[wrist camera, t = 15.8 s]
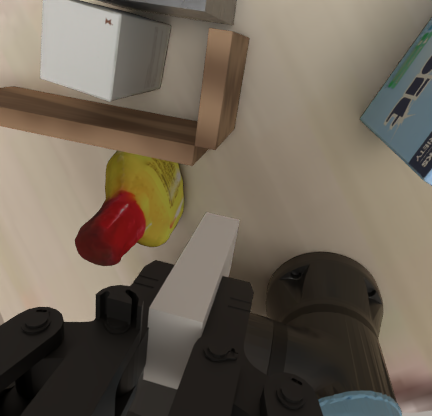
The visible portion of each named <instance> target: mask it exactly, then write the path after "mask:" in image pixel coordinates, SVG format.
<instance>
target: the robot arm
mask: <svg viewBox="0 0 432 416" xmlns="http://www.w3.org/2000/svg"><path fill="white" fill-rule="evenodd" d="M239 222H240V219H235V218H231V217H226V216H222V215H217V214H213V213H208V212H206V213H205V215H204V217H203V218H202V220H201V222H200V223H199V225H198V227H197V228H196V230H195V232H194V234H193V235H192V237H191V239H190V240H189V242H188V244H187V245H186V247H185V249H184V250H183V252H182V254H181V255H180V257H179V259H178V260H177V262H176V264H175V265H173V264H169V263H165V262H161V261H157V260H155V261H153V262H152V263H150V264H148V265H146V266H145V267H144V268H143V270H142V271H141V272H140V274H139V276H138V277H137V278H136V279H135V280H134V282H133V284H132V285H131V286H123V285H117V286H110V287H107V288H105V289H102V290H101V291H100V292H98V293H97V294H96V318H95V320H94V321H90V322H64V320H63V317H62V314H61V313H60V312H59V311H57V310H56V309H53V308H50V307H37V308H32V309H28V310H26V311H24V312H22V313H20V314H18V315H16V316H15V317H13V318H12V319H10V320H8V321H7V322H5V323H4V324H2V325H1V326H0V416H402V413H401V410H400V407H399V406H398V403H397V402H396V398H395V395H394V391H393V388H392V384H391V381H390V378H389V374H388V371H387V367H386V364H385V361H384V357H383V354H382V350H381V347H380V344H379V340H378V337H379V332H380V327H381V322H382V317H383V301H382V297H381V294H380V291H379V288H378V286H377V283H376V281H375V280H374V278H373V277H372V275H371V274H370V273H369V272H368V271H367V270H366V269H365V268H364V267H363V266H362V265H360V264H359V263H357V262H355V261H354V260H352V259H350V258H347V257H345V256H342V255H338V254H333V253H324V252H318V253H309V254H304V255H301V256H298V257H295V258H293V259H291V260H289V261H287V262H286V263H284V264H283V265H282V266H281V267H280V268H279V269H278V270H277V271H276V272H275V273H274V275H273V276H272V278H271V280H270V282H269V285H268V289H267V296H266V311H267V316H268V318H266V317H263V316H259V315H256V314H253V313H250V309H251V304H252V299H253V294H254V292H253V290H252V287H251V285H250V283H249V282H245V281H241V280H237V279H233V278H229V273H230V269H231V264H232V259H233V253H234V248H235V243H236V238H237V233H238V228H239Z"/></svg>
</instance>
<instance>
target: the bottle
mask: <svg viewBox="0 0 432 416" xmlns="http://www.w3.org/2000/svg"><path fill="white" fill-rule="evenodd" d="M105 193H106V200H105V202H104V204H103V205H102V207H101V209H100V210H99V211H98V212H97V213H96V215H95V216H94V217H92V218H91V219H90V220H89V221H88V222H87V223H85V224H84V225H83V226H82V227H81V228H80V230H79V232H78V235H77V237H76V239H75V244H76V248H77V251H78V253H79V254H80V256H81V257H83V258H84V259H85V260H87V261H89V262H91V263H94V264H96V265H101V266H112V265H115V264H117V263H119V262H120V260H121V257H122V256H123V255H124V254H125V253H127V252H128V251H129V250H130V248H131V247H133V246H134V245H135V244H136V243H139V244H141V245H144V246H148V247H157V246H160V245H161V244H163V243H165V242H166V241H167V240H168V238H169V237H170V235H171V233H172V231H173V230H174V228H175V227H176V225H177V223H178V221H179V219H180V217H181V215H182V213H183V208H184V194H183V180H182V177H181V174H180V169H179V164H178V163H175V162H171V161H166V160H161V159H156V158H151V157H147V156H142V155H137V154H132V153H127V152H123V151H117V152H116V153H115V154H114V155H113V156H112V158H111V159H110V160H109V162H108V164H107V168H106V184H105Z"/></svg>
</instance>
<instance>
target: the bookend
mask: <svg viewBox="0 0 432 416" xmlns="http://www.w3.org/2000/svg"><path fill="white" fill-rule="evenodd" d="M98 1H101V2H105V3H108V4H112V5H115V6H119V7H122V8H126V9H130V10H136V11H142V12H149V13H155V14H162V15H169V16H175V17H182V18H188V19H195V20H202V21H208V22H215V23H222V24H228V25H233V23H234V16H235V9H236V2H237V0H98Z"/></svg>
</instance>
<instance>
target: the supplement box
mask: <svg viewBox="0 0 432 416" xmlns="http://www.w3.org/2000/svg"><path fill="white" fill-rule="evenodd" d="M170 29H171V25H168V24H165V23H162V22H159V21H156V20H153V19H150V18H146V17H143V16H140V15H136V14H133V13H129V12H125V11H122V10H117V9H113V8H109V7H104V6H100V5H96V4H92V3H88V2H84V1H79V0H43V11H42V40H41V66H40V79H43V80H46V81H49V82H53V83H56V84H59V85H62V86H65V87H68V88H71V89H73V90H76V91H79V92H82V93H85V94H88V95H91V96H94V97H97V98H100V99H103V100H105V101H108V102H111V101H114V100H117V99H120V98H124V97H128V96H132V95H136V94H140V93H144V92H148V91H152V90H155V89H159V88H160V85H161V80H162V75H163V69H164V63H165V58H166V52H167V47H168V41H169V35H170Z"/></svg>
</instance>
